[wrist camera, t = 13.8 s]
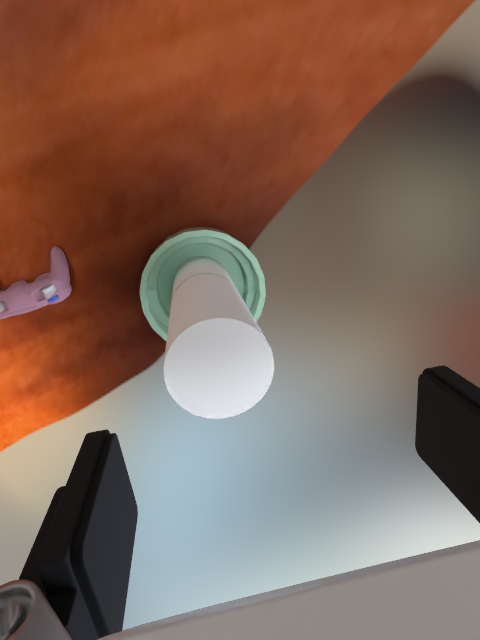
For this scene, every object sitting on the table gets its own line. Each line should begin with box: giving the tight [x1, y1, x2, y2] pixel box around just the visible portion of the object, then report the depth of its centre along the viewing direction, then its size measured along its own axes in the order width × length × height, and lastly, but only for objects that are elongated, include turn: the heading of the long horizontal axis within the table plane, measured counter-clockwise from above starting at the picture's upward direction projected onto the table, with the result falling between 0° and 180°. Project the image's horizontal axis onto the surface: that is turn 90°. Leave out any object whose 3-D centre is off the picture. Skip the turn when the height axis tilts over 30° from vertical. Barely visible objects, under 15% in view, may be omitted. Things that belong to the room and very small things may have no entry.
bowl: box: [139, 226, 266, 341], centre depth 45 cm, size 14×14×6 cm
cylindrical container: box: [164, 256, 274, 419], centre depth 36 cm, size 7×7×25 cm
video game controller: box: [0, 246, 72, 319], centre depth 42 cm, size 10×5×7 cm, turn 105°
